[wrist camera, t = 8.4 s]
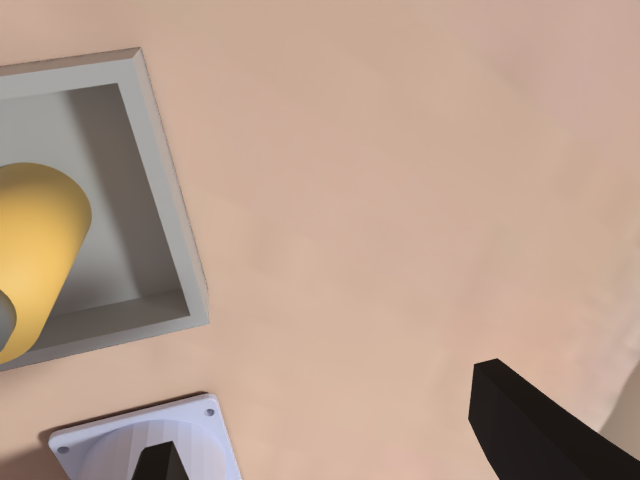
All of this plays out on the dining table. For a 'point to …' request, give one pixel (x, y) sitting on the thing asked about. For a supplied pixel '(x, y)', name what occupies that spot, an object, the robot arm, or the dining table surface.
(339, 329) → the dining table surface
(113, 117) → the grey tray
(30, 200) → the cylinder
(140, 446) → the robot arm
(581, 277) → the dining table surface
